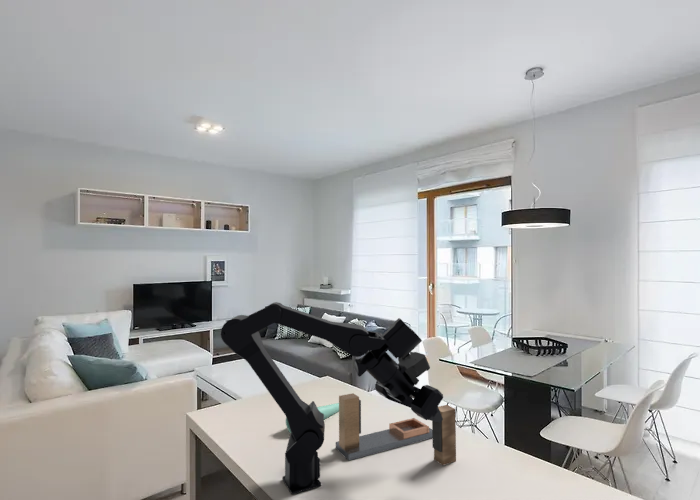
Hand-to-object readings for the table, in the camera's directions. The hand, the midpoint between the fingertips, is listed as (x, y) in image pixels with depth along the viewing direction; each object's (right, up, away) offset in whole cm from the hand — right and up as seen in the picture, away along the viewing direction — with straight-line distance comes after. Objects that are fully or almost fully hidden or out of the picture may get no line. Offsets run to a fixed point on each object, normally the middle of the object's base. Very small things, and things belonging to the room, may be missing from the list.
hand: (427, 413), depth 89 cm
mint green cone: (-26, -13, +28) cm, 40 cm away
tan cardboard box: (+4, -12, +2) cm, 13 cm away
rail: (-8, -12, +11) cm, 18 cm away
